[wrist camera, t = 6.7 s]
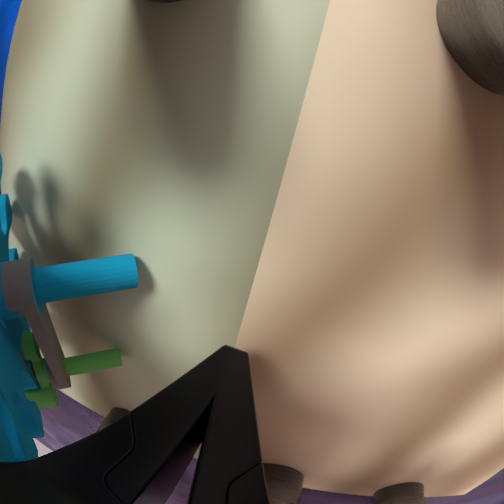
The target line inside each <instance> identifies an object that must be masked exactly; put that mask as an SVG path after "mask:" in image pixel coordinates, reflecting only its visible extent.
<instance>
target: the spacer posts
mask: <svg viewBox="0 0 504 504" xmlns="http://www.w3.org/2000/svg"><path fill="white" fill-rule="evenodd" d="M147 1H150V2H156V3H171V2H177V1H181V0H147ZM436 19H437V24H438V28H439V31H440V34H441V37H442V39H443V42H444V44H445V46H446V48H447V50H448V51H449V53H450V54H451V56H452V58H453V59H454V60H455V62H456V63H457V64H458V66H459V67H460V68H461V69H462V70H463V71H464V72H465V73H466V74H467V75H468V76H469V77H470V78H471V79H472V80H473V81H474V82H476V83H477V84H478V85H480V86H481V87H483V88H485V89H486V90H488V91H490V92H493V93H495V94H499V95H504V0H437V4H436ZM127 413H131V411H129V410H127V409H123V408H119V407H115V408H112V409H111V410H110V412H109V413H108V415H107V416H106V418H105V419H104V421H103V422H102V424H101V425H100V427H99V428H98V430H97V431H96V432H98V431H100V430H101V429H103V428H105V427H106V426H108V425H110V424H111V423H113V422H115V421H116V420H118V419H120V418H121V417H123V416H124V415H126V414H127ZM262 464H263V466H264V473H265V480H266V485H267V490H268V496H269V500H270V503H271V504H299V503H300V498H301V492H302V487H303V481H304V475H303V474H302V473H301V472H300V471H298V470H296V469H294V468H291V467H288V466H284V465H279V464H272V463H262ZM373 504H425V497H424V485H423V484H422V483H419V482H406V483H399V484H394V485H390V486H387V487H384V488H381V489H379V490H377V491H376V492H375V493H374V494H373Z"/></svg>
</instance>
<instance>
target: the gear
mask: <svg viewBox="0 0 504 504" xmlns="http://www.w3.org/2000/svg"><path fill="white" fill-rule="evenodd" d="M2 167H3V163H2V156H1V154H0V184H1V178H2ZM11 225H12V208H11V204H10V200H9V196H8V194H2V195H0V462H20V461H27V460H31V459H35V458H38V450H37V448H36V445H35V442H34V440H33V438H39V437H44V431H43V423H42V418H41V413H40V410H39V409H40V408H47V407H54V406H58V399H57V395H56V391H55V390H59V389H65V388H70V387H71V380H70V376H72V375H78V374H83V373H88V372H94V371H99V370H104V369H108V368H113V367H118V366H122V365H123V363H122V359H121V355H120V351H119V349H118V348H114V349H109V350H104V351H99V352H94V353H88V354H83V355H78V356H72V357H66V358H65V356H64V353H63V350H62V348H61V345H60V343H59V340H58V337H57V335H56V332H55V329H54V326H53V324H52V321H51V318H50V315H49V312H48V309H47V306H46V303H48V302H54V301H61V300H67V299H73V298H79V297H85V296H91V295H97V294H103V293H109V292H114V291H120V290H126V289H132V288H137V287H138V272H137V266H136V261H135V258H134V255H133V254H132V253H131V254H124V255H117V256H110V257H104V258H97V259H90V260H83V261H77V262H70V263H63V264H57V265H50V266H44V267H37V268H36V267H35V263H34V260H33V258H32V257H31V258H24V259H19V256H18V251H17V248H12V249H9V232H10V227H11ZM31 330H32V332H31ZM40 350H41V352H42V354H43V356H44V358H42V357H41V353H40Z"/></svg>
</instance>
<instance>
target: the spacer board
mask: <svg viewBox="0 0 504 504" xmlns="http://www.w3.org/2000/svg"><path fill="white" fill-rule="evenodd" d="M436 4H437V0H181V1H177V2H171V3H156V2H150V1H147V0H22V2H21V5H20V9H19V12H18V16H17V20H16V24H15V28H14V32H13V36H12V41H11V45H10V50H9V56H8V61H7V67H6V74H5V81H4V89H3V98H2V110H1V126H0V154H1V156H2V163H3V167H2V178H1V195H2V194H8V196H9V200H10V204H11V208H12V225H11V227H10V232H9V249H12V248H17V251H18V256H19V259H24V258H31V257H32V258H33V260H34V263H35V267H36V268H37V267H44V266H50V265H57V264H63V263H70V262H77V261H83V260H90V259H97V258H104V257H110V256H117V255H124V254H131V253H132V254H133V255H134V258H135V261H136V266H137V272H138V287H137V288H132V289H126V290H120V291H114V292H109V293H103V294H97V295H91V296H85V297H79V298H73V299H67V300H61V301H54V302H48V303H46V306H47V309H48V312H49V315H50V318H51V321H52V324H53V326H54V329H55V332H56V335H57V337H58V340H59V343H60V345H61V348H62V350H63V353H64V356H65V358H66V357H72V356H78V355H83V354H88V353H94V352H99V351H104V350H109V349H114V348H118V349H119V351H120V355H121V359H122V363H123V365H122V366H118V367H113V368H108V369H104V370H99V371H94V372H88V373H83V374H78V375H72V376H70V380H71V387H70V388H65V389H59V390H60V391H62V392H63V393H65V394H66V395H68V396H69V397H71V398H73V399H74V400H76V401H78V402H79V403H81V404H82V405H84V406H86V407H88V408H89V409H91V410H93V411H94V412H96V413H98V414H100V415H102V416H103V417H105V418H106V416H107V415H108V413H109V412H110V410H111V409H112V408H115V407H119V408H123V409H127V410H129V411H132V410H133V409H135V408H136V407H138V406H139V405H141V404H142V403H144V402H145V401H147V400H148V399H149V398H151V397H152V396H154V395H155V394H157V393H158V392H160V391H161V390H162V389H164V388H165V387H167V386H168V385H170V384H171V383H172V382H174V381H175V380H177V379H178V378H179V377H181V376H182V375H184V374H185V373H186V372H188V371H189V370H191V369H192V368H193V367H195V366H196V365H197V364H199V363H200V362H202V361H203V360H204V359H206V358H207V357H208V356H210V355H211V354H212V353H214V352H215V351H216V350H218V349H219V348H220V347H222V346H223V345H228V346H231V347H234V348H237V349H240V350H243V351H246V352H247V353H248V355H249V362H250V370H251V378H252V386H253V393H254V401H255V409H256V416H257V424H258V431H259V439H260V446H261V453H262V460H263V461H262V463H272V464H279V465H284V466H288V467H291V468H294V469H296V470H298V471H300V472H301V473H302V474H303V475H304V481H303V488H308V489H314V490H320V491H327V492H335V493H343V494H352V495H364V496H373V494H374V493H375V492H376V491H377V490H379V489H381V488H384V487H387V486H390V485H394V484H399V483H406V482H419V483H422V484H423V485H424V497H438V496H453V495H463V494H466V493H468V492H469V491H471V490H472V489H474V488H475V487H477V486H479V485H480V484H482V483H483V482H485V481H486V480H487V479H489V478H490V477H492V476H493V475H495V474H496V473H497V472H499V471H500V470H501V469H503V468H504V95H499V94H495V93H493V92H490V91H488V90H486V89H485V88H483V87H481V86H480V85H478V84H477V83H476V82H474V81H473V80H472V79H471V78H470V77H469V76H468V75H467V74H466V73H465V72H464V71H463V70H462V69H461V68H460V67H459V66H458V64H457V63H456V62H455V60H454V59H453V58H452V56H451V54H450V53H449V51H448V50H447V48H446V46H445V44H444V42H443V39H442V37H441V34H440V31H439V28H438V24H437V19H436ZM31 332H32V330H31ZM40 353H41V357H42V358H44V356H43V354H42V352H41V350H40ZM201 444H202V443H201ZM201 444H200V446H199V448H198V450H197V451H196V453H195V455H194V456H193V458H196V459H198V456H199V452H200V448H201Z"/></svg>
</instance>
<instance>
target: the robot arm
mask: <svg viewBox="0 0 504 504" xmlns="http://www.w3.org/2000/svg"><path fill="white" fill-rule="evenodd" d="M201 443H202V444H201ZM200 444H201V448H200V452H199V456H198V460H197V464H196V468H195V472H194V476H193V480H192V484H191V488H190V493H189V497H188V501H187V504H271V503H270V500H269V496H268V490H267V485H266V480H265V473H264V466H263V464H262V461H263V460H262V453H261V446H260V439H259V431H258V424H257V416H256V409H255V401H254V393H253V386H252V378H251V370H250V362H249V355H248V353H247V352H246V351H243V350H240V349H237V348H234V347H231V346H228V345H223V346H222V347H220V348H219V349H218V350H216V351H215V352H214V353H212V354H211V355H210V356H208V357H207V358H206V359H204V360H203V361H202V362H200V363H199V364H197V365H196V366H195V367H193V368H192V369H191V370H189V371H188V372H186V373H185V374H184V375H182V376H181V377H179V378H178V379H177V380H175V381H174V382H172V383H171V384H170V385H168V386H167V387H165V388H164V389H162V390H161V391H160V392H158V393H157V394H155V395H154V396H152V397H151V398H149V399H148V400H147V401H145V402H144V403H142V404H141V405H139V406H138V407H136V408H135V409H133V410H132V411H131V413H127V414H126V415H124V416H123V417H121V418H120V419H118V420H116V421H115V422H113V423H111V424H110V425H108V426H106V427H105V428H103V429H101V430H100V431H98V432H96V433H94V434H92V435H90V436H88V437H85V438H83V439H81V440H79V441H77V442H74V443H72V444H70V445H68V446H65V447H63V448H61V449H58V450H56V451H53V452H51V453H48V454H46V455H43V456H41V457H38V458H35V459H31V460H27V461H20V462H0V504H165V503H166V501H167V499H168V498H169V496H170V494H171V493H172V491H173V490H174V488H175V486H176V485H177V483H178V481H179V480H180V478H181V476H182V475H183V473H184V471H185V470H186V468H187V466H188V465H189V463H190V461H191V460H192V458H193V456H194V455H195V453H196V451H197V450H198V448H199V446H200Z"/></svg>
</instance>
